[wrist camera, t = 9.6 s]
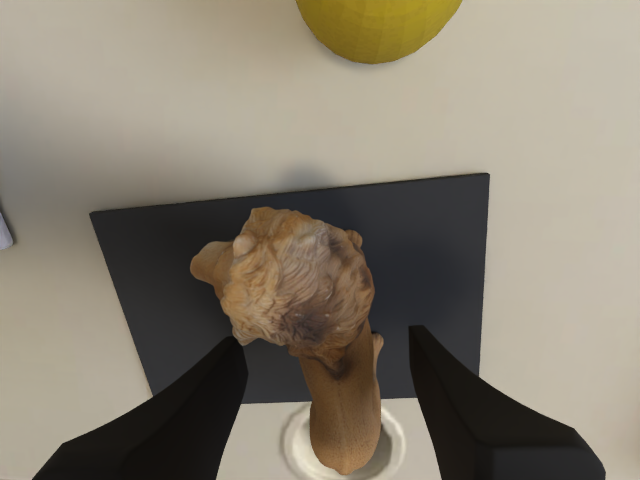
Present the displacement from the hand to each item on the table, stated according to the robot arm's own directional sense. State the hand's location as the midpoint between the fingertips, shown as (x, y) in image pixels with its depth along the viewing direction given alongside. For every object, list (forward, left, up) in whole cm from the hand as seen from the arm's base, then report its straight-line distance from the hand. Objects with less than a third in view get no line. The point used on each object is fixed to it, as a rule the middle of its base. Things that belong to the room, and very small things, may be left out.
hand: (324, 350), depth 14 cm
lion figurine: (0, 0, -5) cm, 5 cm away
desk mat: (-2, -1, -5) cm, 5 cm away
